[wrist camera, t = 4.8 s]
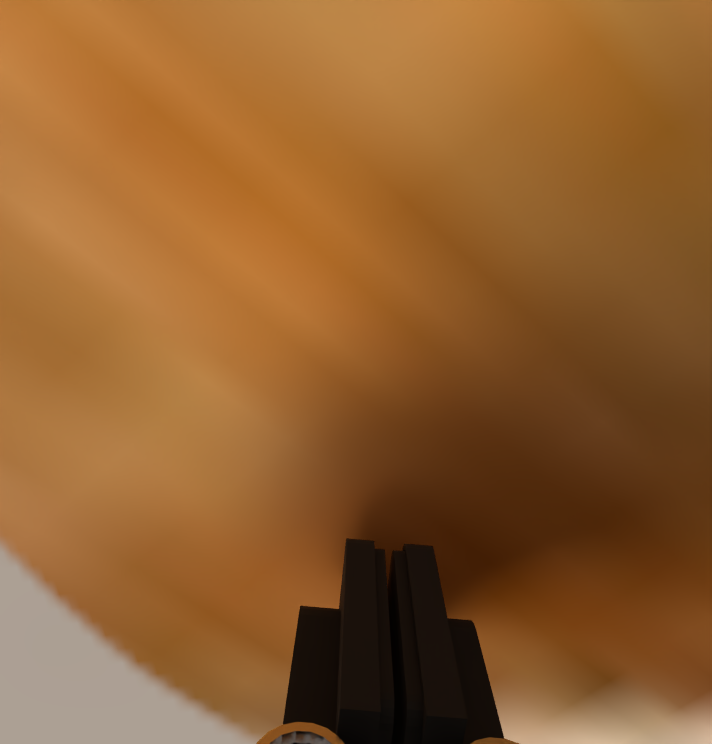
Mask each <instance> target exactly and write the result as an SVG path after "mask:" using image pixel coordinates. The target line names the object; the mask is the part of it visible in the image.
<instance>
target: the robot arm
mask: <svg viewBox="0 0 712 744" xmlns="http://www.w3.org/2000/svg"><path fill="white" fill-rule="evenodd" d="M257 744H519V743H516V742H513V741H510V740H507V739H504V736H503V732H502V728H501V724H500V720H499V717H498V713H497V709H496V705H495V701H494V697H493V693H492V690H491V686H490V682H489V678H488V674H487V670H486V666H485V663H484V659H483V655H482V651H481V647H480V643H479V639H478V636H477V632H476V628H475V625H474V623H473V622H472V621H471V620H461V619H449V618H447V614H446V609H445V604H444V599H443V594H442V589H441V584H440V579H439V574H438V569H437V564H436V559H435V554H434V549H433V547H432V546H426V545H414V544H404V546H403V550H402V551H395V550H393V552H392V557H391V565H390V573H389V580H388V588H387V576H386V561H385V550H384V549H375V545H374V541H369V540H357V539H346V546H345V555H344V565H343V575H342V585H341V594H340V604H339V609H331V608H319V607H308V606H300V611H299V617H298V624H297V631H296V638H295V645H294V652H293V659H292V666H291V672H290V679H289V686H288V693H287V700H286V707H285V714H284V721H283V725H281V726H279V727H277V728H275V729H273V730H271V731H269V732H268V733H267V734H266V735H264V736H263V737H262V738H261V739H260V740H259V741H258V742H257Z"/></svg>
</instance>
